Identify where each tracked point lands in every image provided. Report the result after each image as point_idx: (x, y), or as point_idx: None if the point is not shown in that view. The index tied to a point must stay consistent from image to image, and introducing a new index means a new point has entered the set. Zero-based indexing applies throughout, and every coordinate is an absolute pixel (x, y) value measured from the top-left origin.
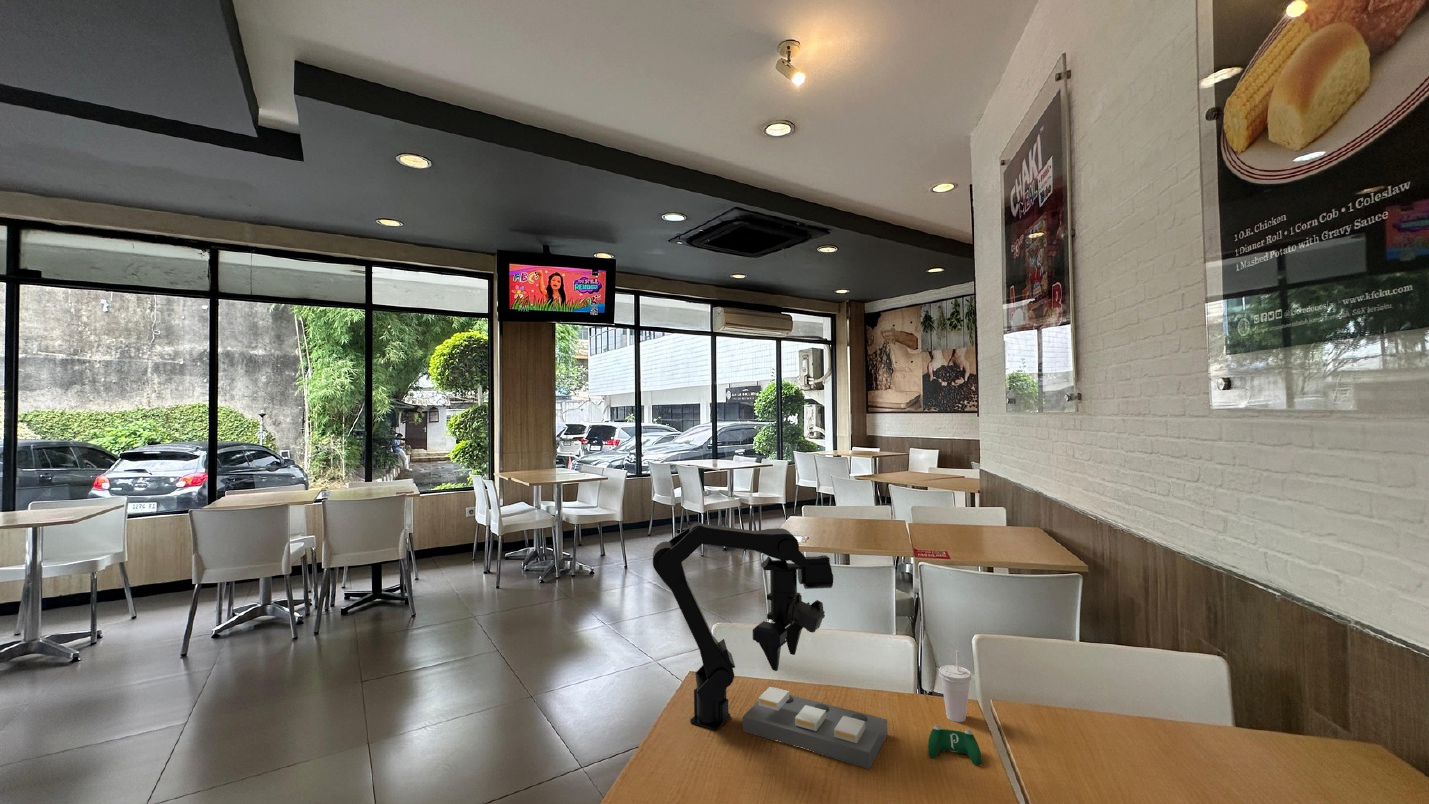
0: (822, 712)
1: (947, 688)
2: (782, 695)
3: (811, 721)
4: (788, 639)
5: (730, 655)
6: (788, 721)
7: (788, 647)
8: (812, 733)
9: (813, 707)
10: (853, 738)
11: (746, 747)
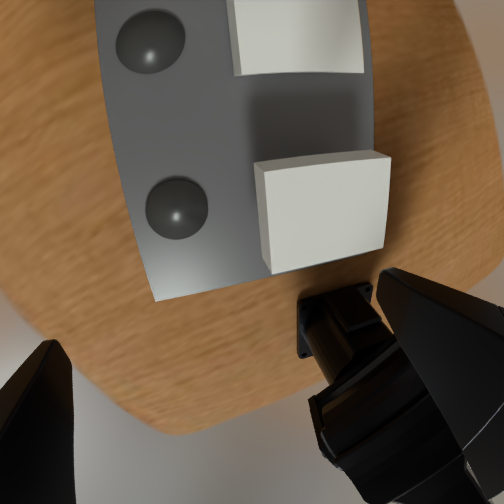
0: None
1: None
2: (323, 175)
3: (353, 5)
4: (60, 467)
5: (370, 451)
6: (328, 108)
7: (72, 411)
8: None
9: (240, 32)
10: None
11: (399, 181)
